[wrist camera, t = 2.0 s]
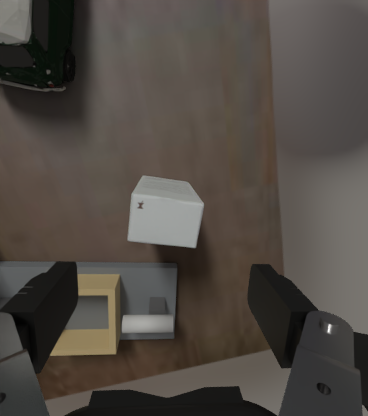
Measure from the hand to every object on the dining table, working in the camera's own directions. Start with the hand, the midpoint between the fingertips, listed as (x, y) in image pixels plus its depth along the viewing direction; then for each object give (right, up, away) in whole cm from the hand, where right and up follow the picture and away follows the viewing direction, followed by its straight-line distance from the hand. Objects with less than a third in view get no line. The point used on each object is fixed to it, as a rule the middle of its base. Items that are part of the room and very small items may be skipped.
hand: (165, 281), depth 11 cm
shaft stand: (-12, -9, +23) cm, 28 cm away
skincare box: (-2, +5, +21) cm, 21 cm away
